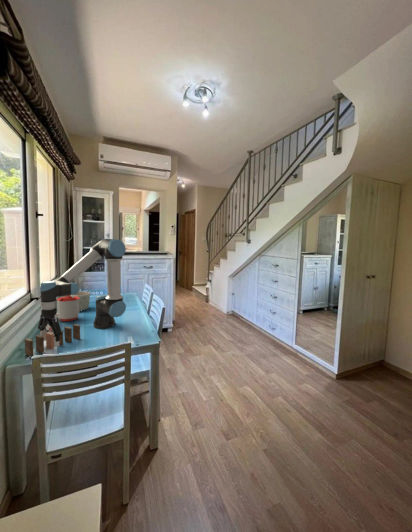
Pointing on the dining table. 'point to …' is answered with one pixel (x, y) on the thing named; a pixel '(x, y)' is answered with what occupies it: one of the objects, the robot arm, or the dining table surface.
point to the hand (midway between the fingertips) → (50, 343)
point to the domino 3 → (49, 340)
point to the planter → (83, 299)
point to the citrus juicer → (68, 308)
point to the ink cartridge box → (50, 326)
